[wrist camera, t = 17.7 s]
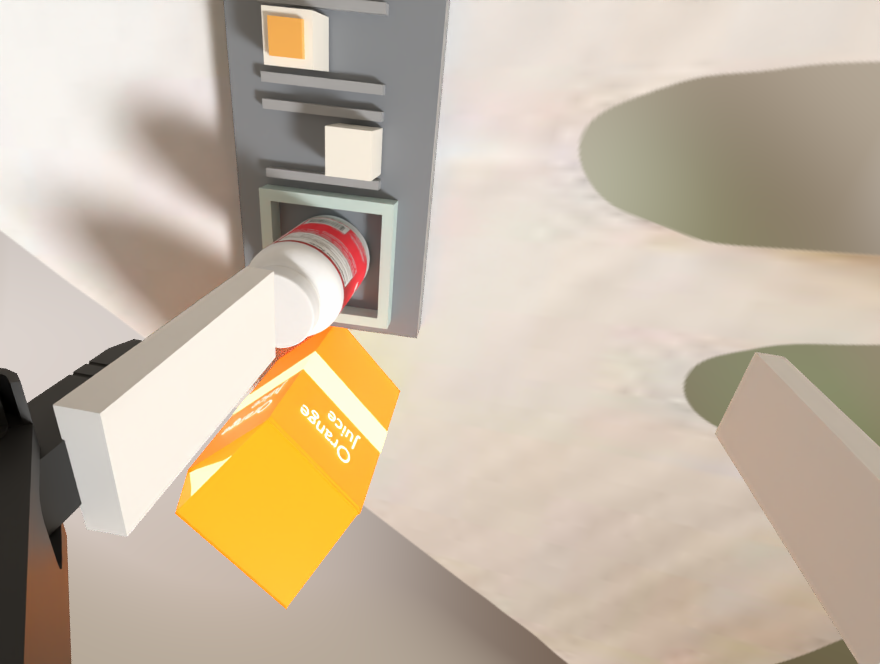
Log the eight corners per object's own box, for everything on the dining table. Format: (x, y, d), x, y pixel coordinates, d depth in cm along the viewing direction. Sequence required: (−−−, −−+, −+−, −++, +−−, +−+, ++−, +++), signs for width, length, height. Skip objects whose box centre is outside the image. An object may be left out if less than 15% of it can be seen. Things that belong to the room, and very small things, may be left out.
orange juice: (339, 317, 42) (222, 483, 24) (401, 391, 45) (338, 589, 27) (275, 360, 45) (128, 538, 27) (338, 427, 48) (242, 631, 30)
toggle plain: (339, 123, 33) (325, 125, 31) (382, 128, 33) (372, 131, 30) (338, 169, 35) (325, 175, 32) (380, 174, 34) (370, 181, 32)
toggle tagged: (281, 12, 31) (257, 3, 28) (328, 17, 31) (310, 9, 28) (283, 66, 32) (261, 64, 29) (328, 71, 32) (311, 69, 29)
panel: (235, -35, 32) (207, -49, 29) (451, -14, 31) (446, -25, 28) (259, 305, 43) (240, 322, 39) (420, 327, 42) (413, 346, 39)
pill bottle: (318, 302, 40) (258, 373, 30) (277, 232, 37) (197, 284, 27) (386, 274, 38) (345, 339, 28) (347, 199, 36) (289, 241, 26)
